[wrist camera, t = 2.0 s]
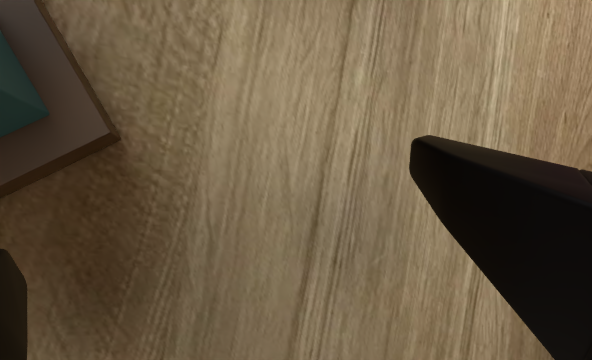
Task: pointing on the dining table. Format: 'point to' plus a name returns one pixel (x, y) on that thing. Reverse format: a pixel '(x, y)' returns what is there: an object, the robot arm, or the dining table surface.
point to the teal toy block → (16, 93)
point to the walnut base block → (48, 101)
